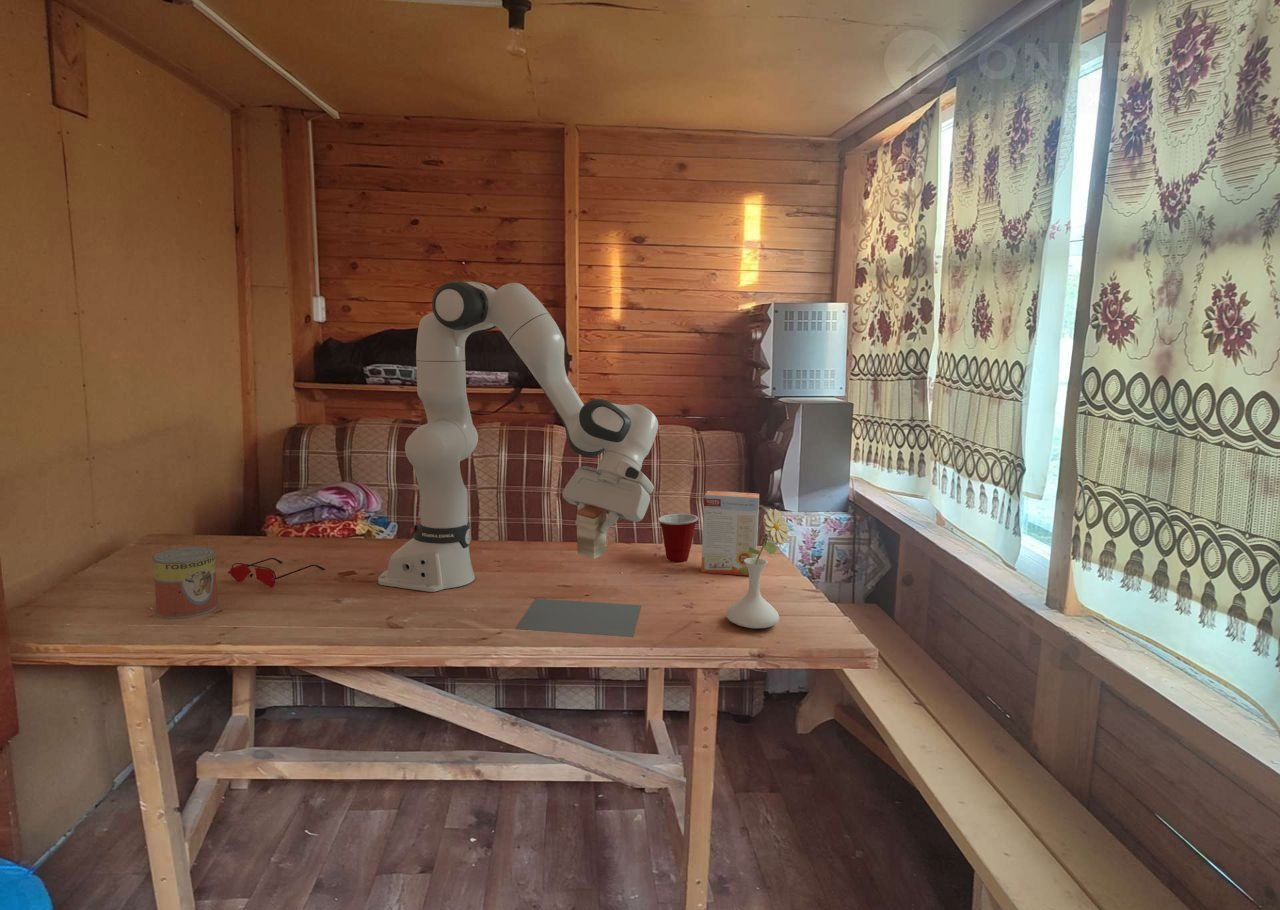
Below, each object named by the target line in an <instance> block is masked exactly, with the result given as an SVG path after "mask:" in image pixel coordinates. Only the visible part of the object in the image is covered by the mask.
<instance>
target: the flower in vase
mask: <svg viewBox="0 0 1280 910" xmlns="http://www.w3.org/2000/svg"><path fill="white" fill-rule="evenodd" d="M781 515H782V514H781V513H780V511H779V510H777V509H776V508H774V509H772V508H769V509H768V510H766V513H764V515H763V518H762V521H763V527H764V533H765V538H764V541H763V545H762V547H761V548H760V550H758V549H757V550H755V549H753V548H751V547H749V552H751V553H754V554H757V556H756V558H747V559H744V562H745V564H746V566H747V568H748V572H749V576H748V590H747V593H746V595H744V596H743V597H741V598H740V599H738V600H736V601H735V602H734V603H732V604H731V605H730V606H729V607H728V608H727V610H726V612H725V616H726V617H727V619H728V621H730V622H731V623H733V624H735V625H736V626H739V627H744V628H748V629H765V628H770V627H773V626H775V625H776V624H777V623H778V622H779V621H780V615H779V613H778V611H777V610H776V609H775V607H774V606H772V605H771V604H770V603H769V602H768V601H767V600H766V599H764V598H763V596H762V595H761V590H760V584H761V578H762V577H761V576H762V573H763V571H764V569H765V567H767V566H766V565H767V564H768V563H769V562H768V560H766V559H763V558H760V557H761V555H762V552H763V550H765V551H766V552H767V553H768V554H771V555H772V554H775V553H776V552H778V551H779V547H778V545H779V546H781V545H782V546H783V545H784V544H785V542H787V541H789V539H788V538H790V534H789V533H790V531H791V530H790V527H788V526H789V525H788V523H787V522H786V517H785V516H781ZM768 539H769V540H770V541H767V540H768Z"/></svg>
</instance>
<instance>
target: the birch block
mask: <svg viewBox="0 0 1280 910" xmlns="http://www.w3.org/2000/svg"><path fill="white" fill-rule="evenodd" d="M576 519H577V525H576V543H577V544H576V545H577V548H576V549H577V551H576V552H577V555H580V556H583V557H586V558H589V559H592V560H595V559H597V558H599V557H601V556H602V555H604V554H605V553H607V545H608V544H607V538H608V536H607V533H608V531H607V532H606V534H603V533H601V532H599V531H598V530H597V528H598V526H599V523H600V522H601V523H603V522H605V521H606V520H607V514H606V510H605V509H601V508H597V507H594V506H590V505H588V506H586V507H584V508H582V509H580V510H578V509H577V510H576Z"/></svg>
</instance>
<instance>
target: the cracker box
mask: <svg viewBox="0 0 1280 910" xmlns="http://www.w3.org/2000/svg"><path fill="white" fill-rule="evenodd" d="M703 497H704V498H703V499H704V500H703V519H702V520H703V523H702V544H701V547H702V548H701V572H702V573H705V572H706V573H709V574H721V575H734V576H746V577H747V576H748V577H749V572H748V568H747V566H746V564H745V562H744V559H747V558H757V557H758V554H754V553H751V552H749V547H751V548H753V549H755V550H758V535H759V534H758V533H759V531H758V530H759V513H760V512H759V510H760V509H759V508H760V493H756V492H755V493H754V492H753V493H752V492H739V491H738V492H736V491H722V490H721V491H720V490H706V491H705V494H704V496H703Z"/></svg>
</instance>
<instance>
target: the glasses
mask: <svg viewBox="0 0 1280 910" xmlns="http://www.w3.org/2000/svg"><path fill="white" fill-rule="evenodd" d="M269 560H274V561H275V562H277V563H279V564H283V563H284V562H283V561H282V560H280V559H277V558H275V557H269V558H265V559H263V560H260V561H257V562H254V563H250V564H247V563H240V562H235V563H233V564H232V566H231V568H229V570H228V571H227V574H229V575H230V576H231V577H232V578H233V579H234V580H235V581H236V582H238V583H243V582H244V580H245V579H246V578H252V577H253V576H254V573H255V578H256V580H258V581H259V582H261V583H263V584H264V585H265V586H268V587H270V588H272V589H273V588H274V586H275V585H276V580H278V579H281V578H285V577H287V576H290V575H292V574H296V573H297V572H300V571H303V570H305V569H308V568H311V567H315V568H318V569H320V570H322V571H325V570H326V568H324V567H323V566H320V565H318V564H310V565H307V566H305V567H302V568H299V569H295V570H293V571H290V572H288V573H285V574H283V575H280V576H276V572H275V571H274V569H271V568H269V567H267V566H266V567H264V566H260V565H258V564H261V563H264V562H266V561H269ZM235 565H237V566H235ZM249 567H254V570H255V572H254V573H252V570H251V568H249Z"/></svg>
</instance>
